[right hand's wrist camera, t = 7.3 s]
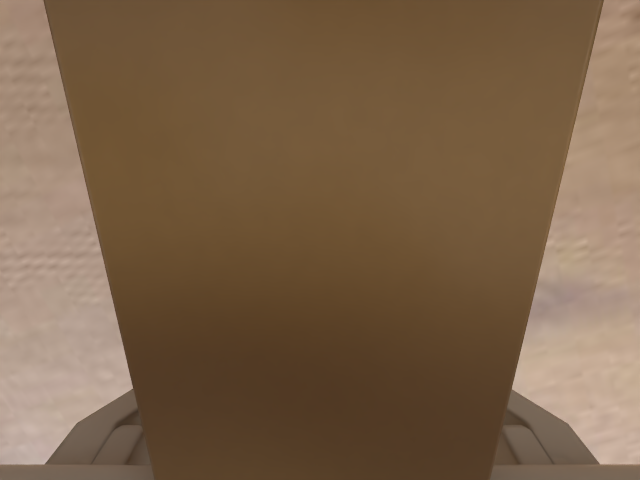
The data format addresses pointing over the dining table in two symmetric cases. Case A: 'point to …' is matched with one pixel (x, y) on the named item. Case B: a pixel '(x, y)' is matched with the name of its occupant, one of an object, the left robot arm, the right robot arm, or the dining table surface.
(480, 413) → the bar
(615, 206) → the dining table surface
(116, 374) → the dining table surface
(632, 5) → the dining table surface
